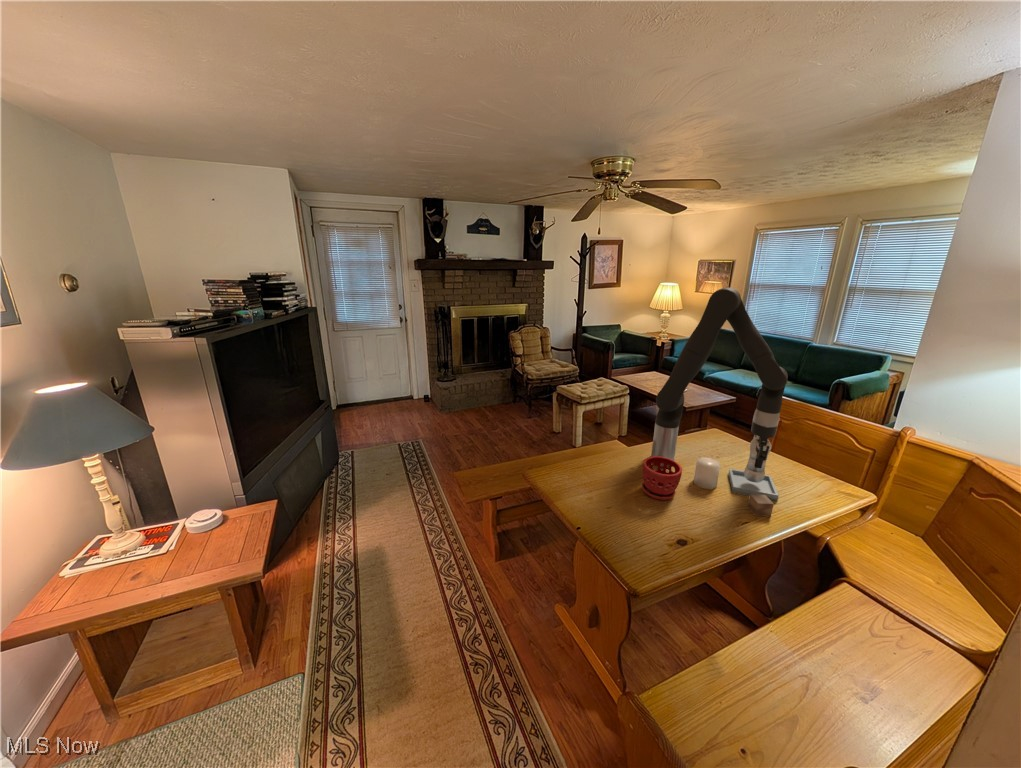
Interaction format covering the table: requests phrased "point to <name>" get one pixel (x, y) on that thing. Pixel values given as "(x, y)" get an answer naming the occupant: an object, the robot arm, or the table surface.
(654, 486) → the plant pot
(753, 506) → the walnut block
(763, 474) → the plastic bottle
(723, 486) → the table surface
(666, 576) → the table surface
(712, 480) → the white domed cylinder
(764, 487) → the tray
